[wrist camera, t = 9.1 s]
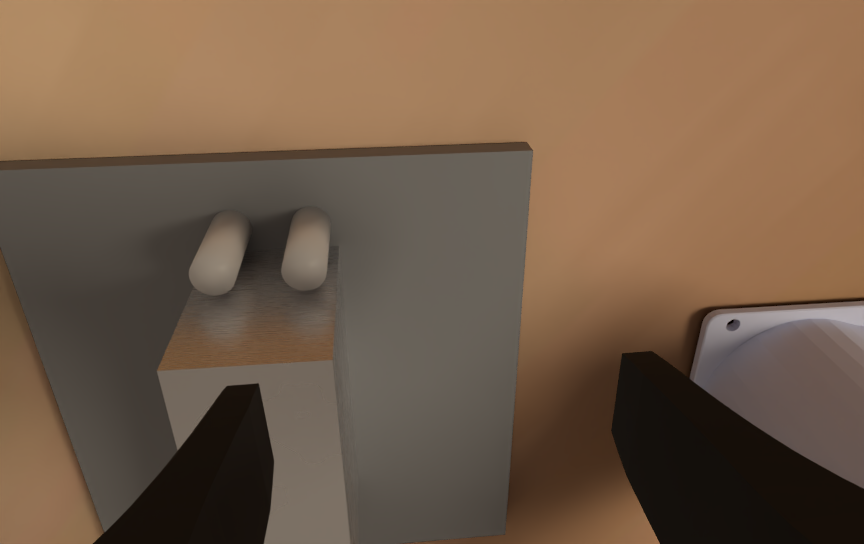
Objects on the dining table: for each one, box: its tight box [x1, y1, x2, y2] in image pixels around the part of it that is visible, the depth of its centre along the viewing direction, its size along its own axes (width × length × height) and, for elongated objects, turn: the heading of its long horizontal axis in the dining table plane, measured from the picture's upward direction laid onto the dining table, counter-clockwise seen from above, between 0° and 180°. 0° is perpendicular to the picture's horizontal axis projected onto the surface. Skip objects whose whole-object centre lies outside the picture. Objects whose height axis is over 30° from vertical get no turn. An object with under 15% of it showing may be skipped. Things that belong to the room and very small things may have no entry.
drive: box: [157, 246, 358, 544], centre depth 20 cm, size 4×10×6 cm, turn 0°
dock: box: [0, 142, 533, 544], centre depth 22 cm, size 16×17×4 cm
